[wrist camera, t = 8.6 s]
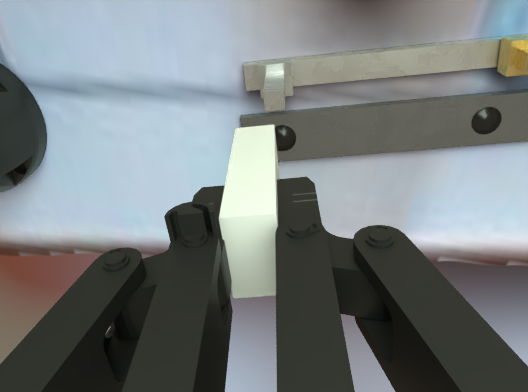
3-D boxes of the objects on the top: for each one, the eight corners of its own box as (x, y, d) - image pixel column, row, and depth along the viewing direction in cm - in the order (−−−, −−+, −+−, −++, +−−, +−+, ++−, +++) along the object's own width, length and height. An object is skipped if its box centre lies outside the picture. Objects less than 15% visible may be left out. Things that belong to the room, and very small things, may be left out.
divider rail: (247, 90, 45) (239, 122, 37) (243, 59, 44) (233, 85, 36) (544, 61, 43) (605, 89, 35) (550, 27, 41) (615, 48, 33)
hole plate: (247, 159, 49) (246, 164, 48) (241, 115, 47) (240, 118, 46) (541, 135, 46) (546, 139, 45) (550, 86, 44) (556, 89, 43)
